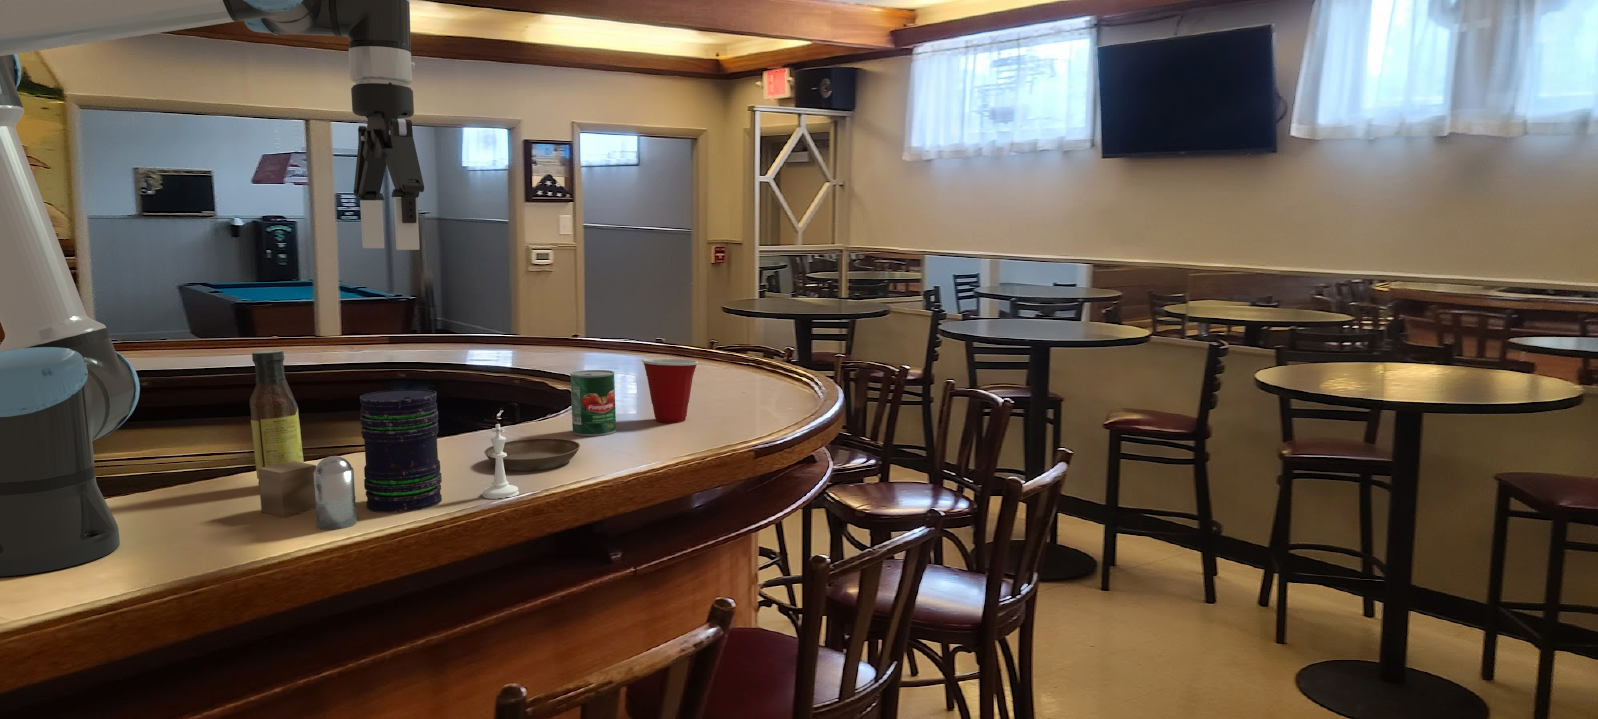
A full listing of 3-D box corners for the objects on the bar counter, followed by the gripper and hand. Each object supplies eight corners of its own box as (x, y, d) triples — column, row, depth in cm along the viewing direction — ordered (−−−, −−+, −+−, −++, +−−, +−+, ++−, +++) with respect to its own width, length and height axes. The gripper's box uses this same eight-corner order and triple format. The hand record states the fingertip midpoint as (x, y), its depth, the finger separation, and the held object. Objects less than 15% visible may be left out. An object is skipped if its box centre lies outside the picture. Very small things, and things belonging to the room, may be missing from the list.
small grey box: (284, 518, 135) (280, 472, 134) (261, 512, 138) (258, 468, 137) (319, 509, 139) (316, 465, 139) (296, 504, 142) (293, 461, 141)
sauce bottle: (314, 482, 154) (305, 348, 151) (283, 493, 148) (273, 354, 145) (278, 480, 155) (268, 347, 153) (245, 490, 149) (235, 352, 147)
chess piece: (508, 499, 143) (505, 428, 142) (475, 498, 144) (472, 427, 143) (525, 490, 148) (522, 421, 147) (493, 489, 149) (490, 420, 148)
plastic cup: (711, 419, 202) (710, 358, 200) (669, 427, 194) (668, 363, 192) (673, 413, 209) (672, 353, 207) (631, 420, 201) (629, 359, 199)
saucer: (509, 479, 156) (508, 462, 155) (470, 463, 167) (469, 446, 167) (597, 465, 165) (596, 448, 165) (554, 450, 176) (554, 434, 176)
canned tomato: (590, 426, 195) (588, 368, 194) (625, 430, 192) (623, 371, 190) (563, 434, 188) (561, 374, 187) (598, 438, 185) (596, 376, 183)
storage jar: (353, 503, 142) (346, 395, 140) (423, 490, 149) (417, 386, 147) (384, 517, 135) (377, 403, 133) (455, 502, 142) (450, 394, 140)
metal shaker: (322, 531, 129) (317, 462, 127) (312, 523, 132) (308, 455, 131) (361, 525, 131) (357, 456, 130) (350, 517, 135) (346, 450, 134)
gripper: (446, 77, 129) (453, 250, 131) (380, 96, 148) (387, 247, 150) (384, 71, 124) (393, 250, 126) (324, 92, 143) (332, 247, 145)
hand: (390, 249), depth 138 cm, fingers open, 13 cm apart
